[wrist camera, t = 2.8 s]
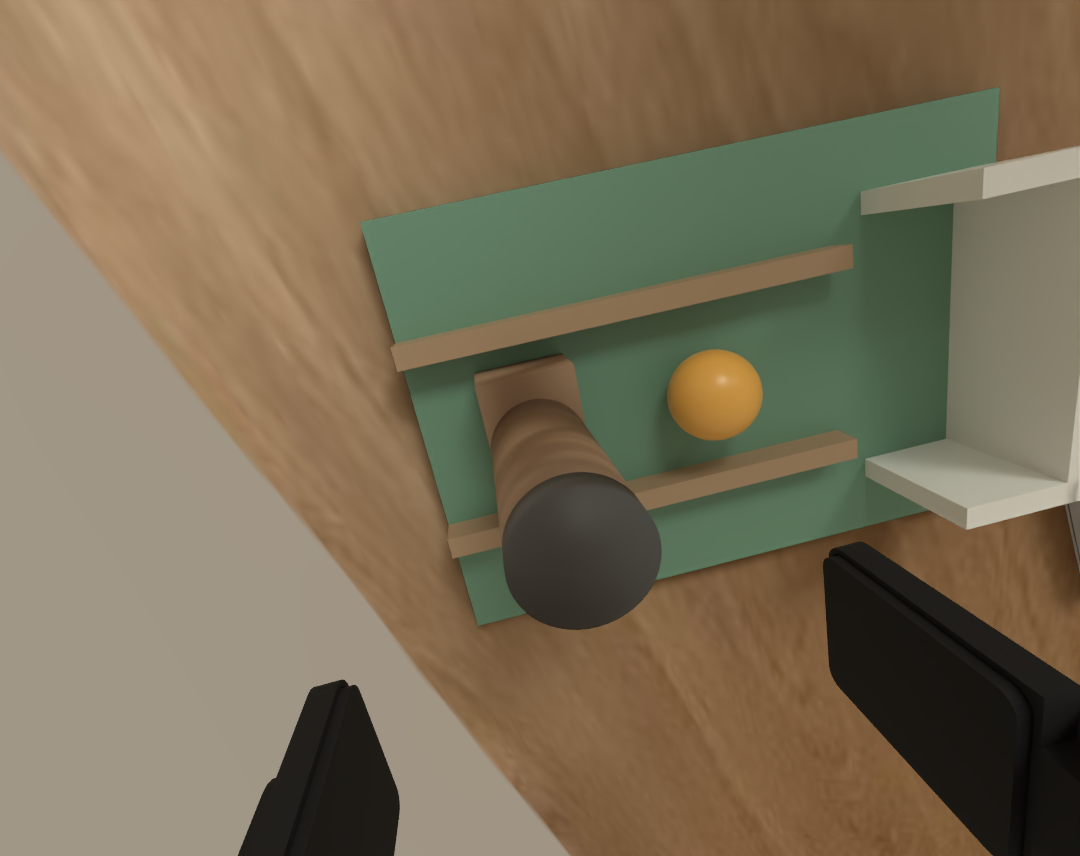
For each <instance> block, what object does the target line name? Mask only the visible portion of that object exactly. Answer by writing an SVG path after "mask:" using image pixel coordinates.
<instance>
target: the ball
mask: <svg viewBox="0 0 1080 856" xmlns="http://www.w3.org/2000/svg"><path fill="white" fill-rule="evenodd" d="M762 399H763V389H762V383H761V380H760V377H759V375H758V373H757V372H756V370H755V369H754V367H753V366H752V365H751V364H750V363H749V362H748V361H747V360H746V359H745V358H743V357H741V356H740V355H738V354H736V353H733V352H731V351H727V350H720V349H711V350H704V351H701V352H698V353H696V354H693V355H691V356H690V357H688V358H687V359H685V360H684V361H683V362H682V363H681V364H680V365H679V366H678V367H677V368H676V369H675V371H674V373H673V374H672V376H671V378H670V381H669V384H668V388H667V403H668V408H669V411H670V413H671V415H672V417H673V419H674V420H675V422H676V423H677V424H678V425H679V426H680V427H681V428H682V429H683V430H684V431H685V432H687V433H688V434H690V435H692V436H694V437H697V438H700V439H704V440H711V441H716V440H725V439H728V438H731V437H734V436H736V435H738V434H740V433H741V432H743V431H744V430H746V429H747V428H748V427H749V426H750V425H751V424H752V422H753V421H754V420H755V418H756V417H757V415H758V413H759V411H760V408H761V405H762Z"/></svg>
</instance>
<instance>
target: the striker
mask: <svg viewBox="0 0 1080 856" xmlns="http://www.w3.org/2000/svg"><path fill="white" fill-rule="evenodd" d="M474 380H475V391H476V395H477V399H478V402H479V406H480V410H481V414H482V418H483V422H484V426H485V430H486V434H487V438H488V442H489V446H490V450H491V454H492V462H493V471H494V481H495V490H496V499H497V509H498V518H499V527H500V536H501V546H502V555H503V564H504V573H505V578H506V583H507V585H508V588H509V591H510V593H511V595H512V596H513V598H514V600H515V601H516V602H517V604H518V605H519V606H520V607H521V608H522V609H523V610H524V611H525V612H526V613H527V614H529V615H530V616H531V617H533V618H534V619H536V620H538V621H540V622H542V623H544V624H547V625H549V626H553V627H556V628H562V629H570V630H580V629H590V628H595V627H599V626H602V625H605V624H608V623H610V622H613V621H615V620H617V619H619V618H620V617H622V616H624V615H625V614H627V613H628V612H630V611H631V610H632V609H633V608H635V607H636V606H637V605H638V604H639V603H640V602H641V601H642V600H643V598H644V597H645V596H646V595H647V594H648V592H649V590H650V589H651V587H652V586H653V584H654V582H655V580H656V578H657V575H658V572H659V569H660V564H661V556H662V547H661V539H660V535H659V532H658V529H657V527H656V524H655V523H654V521H653V519H652V517H651V516H650V515H649V513H648V512H647V510H646V509H645V508H644V506H643V505H642V503H641V502H640V501H639V499H638V498H637V496H636V495H635V494H634V492H633V491H632V490H631V488H630V487H629V485H628V484H627V483H626V481H625V480H624V478H623V477H622V476H621V474H620V473H619V471H618V470H617V469H616V467H615V466H614V465H613V463H612V462H611V460H610V459H609V458H608V456H607V455H606V453H605V452H604V451H603V449H602V448H601V446H600V445H599V444H598V442H597V441H596V439H595V438H594V437H593V435H592V434H591V433H590V431H589V430H588V428H587V427H586V426H585V420H584V415H583V410H582V405H581V399H580V394H579V389H578V384H577V378H576V373H575V368H574V364H573V363H572V362H571V361H570V360H569V359H568V358H566V357H565V356H564V355H563V354H562V353H559V354H555V355H550V356H546V357H542V358H537V359H533V360H529V361H524V362H520V363H516V364H511V365H507V366H502V367H498V368H494V369H489V370H485V371H481V372H476V373H474Z"/></svg>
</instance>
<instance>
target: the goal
mask: <svg viewBox="0 0 1080 856" xmlns="http://www.w3.org/2000/svg"><path fill="white" fill-rule="evenodd" d="M951 203H954V207H953V238H952V268H951V298H950V329H949V359H948V389H947V420H946V439H943V440H939V441H935V442H931V443H927V444H923V445H919V446H915V447H911V448H907V449H903V450H899V451H895V452H891V453H887V454H883V455H879V456H875V457H871V458H867V459H865V475H866V477H868V478H870V479H872V480H873V481H875V482H877V483H879V484H881V485H883V486H885V487H887V488H889V489H890V490H892V491H894V492H896V493H898V494H900V495H902V496H904V497H905V498H907V499H909V500H911V501H913V502H915V503H917V504H919V505H921V506H922V507H924V508H926V509H928V510H930V511H932V512H934V513H936V514H937V515H939V516H941V517H943V518H945V519H947V520H949V521H951V522H953V523H954V524H956V525H958V526H960V527H962V528H964V529H966V530H968V529H972V528H976V527H980V526H983V525H987V524H991V523H995V522H999V521H1003V520H1007V519H1010V518H1014V517H1018V516H1022V515H1026V514H1030V513H1033V512H1037V511H1041V510H1045V509H1049V508H1053V507H1057V506H1060V505H1064V504H1068V503H1072V502H1076V501H1080V146H1075V147H1070V148H1065V149H1060V150H1055V151H1050V152H1045V153H1040V154H1035V155H1030V156H1025V157H1020V158H1015V159H1010V160H1005V161H1000V162H995V163H990V164H985V165H980V166H975V167H970V168H966V169H961V170H957V171H952V172H948V173H943V174H939V175H934V176H929V177H925V178H920V179H916V180H911V181H907V182H902V183H898V184H893V185H889V186H884V187H879V188H875V189H870V190H866V191H861V215H867V214H875V213H883V212H890V211H898V210H905V209H913V208H920V207H928V206H935V205H943V204H951Z"/></svg>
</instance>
